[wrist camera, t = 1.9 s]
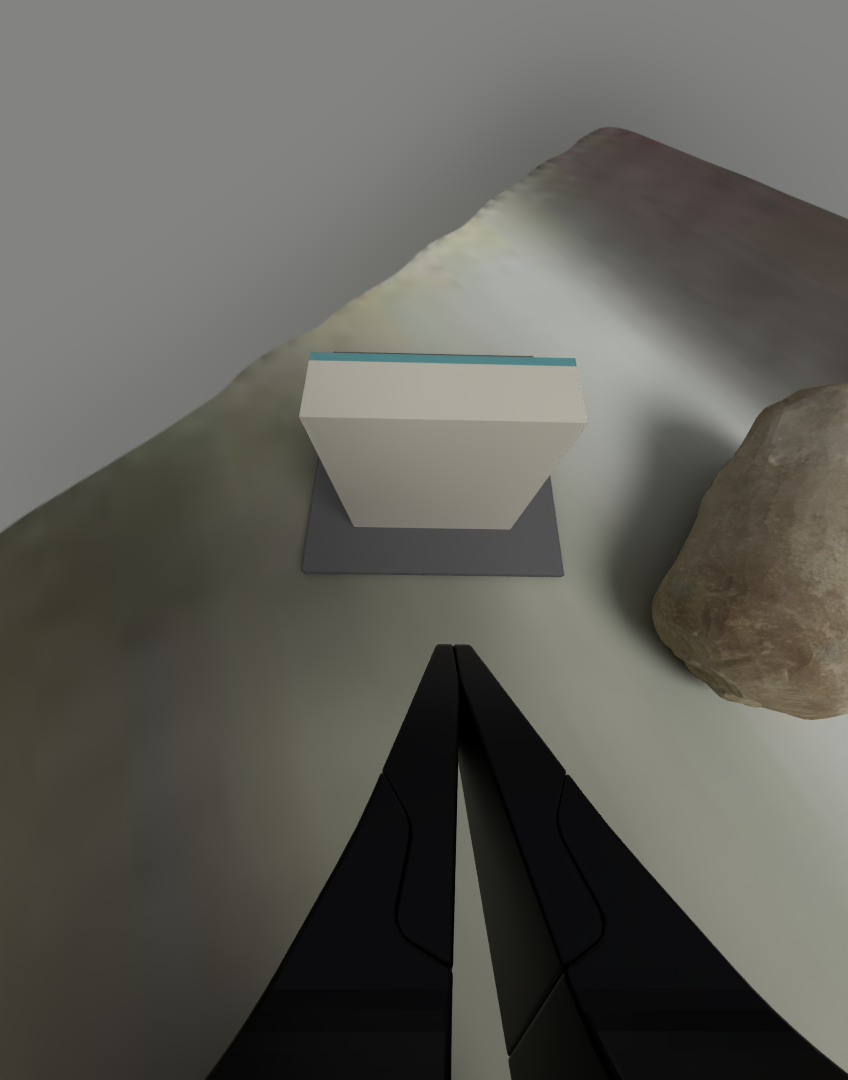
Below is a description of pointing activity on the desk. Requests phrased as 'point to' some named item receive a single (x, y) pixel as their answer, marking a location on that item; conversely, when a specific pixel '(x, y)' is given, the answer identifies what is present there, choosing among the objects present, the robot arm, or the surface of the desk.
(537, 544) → the mat
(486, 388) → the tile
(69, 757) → the desk surface
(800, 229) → the desk surface
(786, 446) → the sculpture
